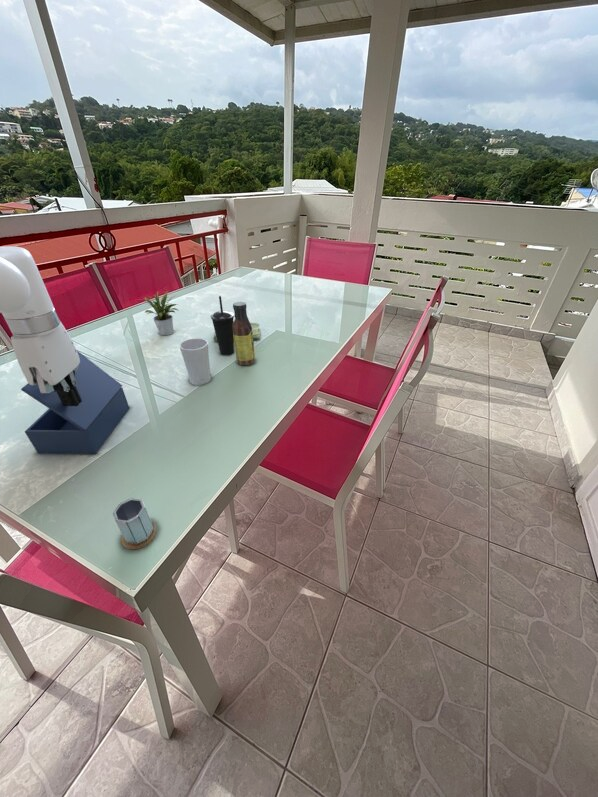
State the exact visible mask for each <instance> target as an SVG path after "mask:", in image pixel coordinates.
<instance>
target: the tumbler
mask: <svg viewBox="0 0 598 797" xmlns="http://www.w3.org/2000/svg"><path fill="white" fill-rule="evenodd" d="M112 515H113V518H114V521H115V523H116V526H117V527H118V530H119V531H120V533H121V536H122V535H123V537H124V539H125V541H126V542H127V543H129V544H131V545H138V544H141V543H143V542H145V541H146V540H148V539H149V538H150V536H151V535H152V533H153V525H152V523H151V521H152V520H151V517H150V515H149V513H148V511H147V509H146V506H145V503H144V502H143V500H142V499H141V498H135V497H131V498H128V499H126V500H124V501H121V502H120V503H118V505H117V506H116V508H115V509H114V510H113V513H112Z"/></svg>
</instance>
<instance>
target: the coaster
mask: <svg viewBox="0 0 598 797" xmlns="http://www.w3.org/2000/svg"><path fill="white" fill-rule="evenodd" d="M151 523H152V525H153V533H152V535H151V536H150V538H149V539H148V540H146V541H145V542H143V543H141V544H138V545H131V544H129V543H127V542H126V541H125V539H124V537H123V535H122V534H121V538H120V539H121V544H122V546H123V548H125V549H127V550H131V551H135V550H141V549H142V548H144V547H146V546H148V545H149V544H150V543H151V542H152V541H153V540H154V538H155V536H156V533H157V527H156V524H155V523H154V522H153V521H152V520H151Z"/></svg>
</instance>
